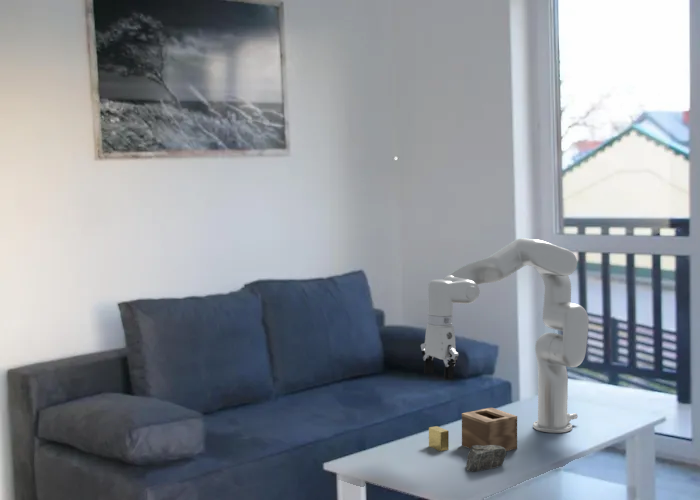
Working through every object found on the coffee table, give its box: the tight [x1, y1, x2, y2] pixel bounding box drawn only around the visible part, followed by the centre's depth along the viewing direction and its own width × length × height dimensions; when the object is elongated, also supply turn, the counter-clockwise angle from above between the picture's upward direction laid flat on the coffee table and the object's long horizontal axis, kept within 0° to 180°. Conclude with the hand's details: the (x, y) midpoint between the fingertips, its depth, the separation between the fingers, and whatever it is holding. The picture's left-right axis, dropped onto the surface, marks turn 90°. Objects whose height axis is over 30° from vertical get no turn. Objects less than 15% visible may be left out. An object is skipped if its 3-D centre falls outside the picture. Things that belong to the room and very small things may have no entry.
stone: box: [466, 445, 507, 472], centre depth 264 cm, size 14×7×10 cm, turn 130°
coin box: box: [461, 407, 518, 452], centre depth 281 cm, size 12×12×10 cm
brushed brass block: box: [428, 425, 450, 452], centre depth 281 cm, size 3×6×6 cm, turn 32°
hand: (438, 376), depth 277 cm, fingers open, 9 cm apart
